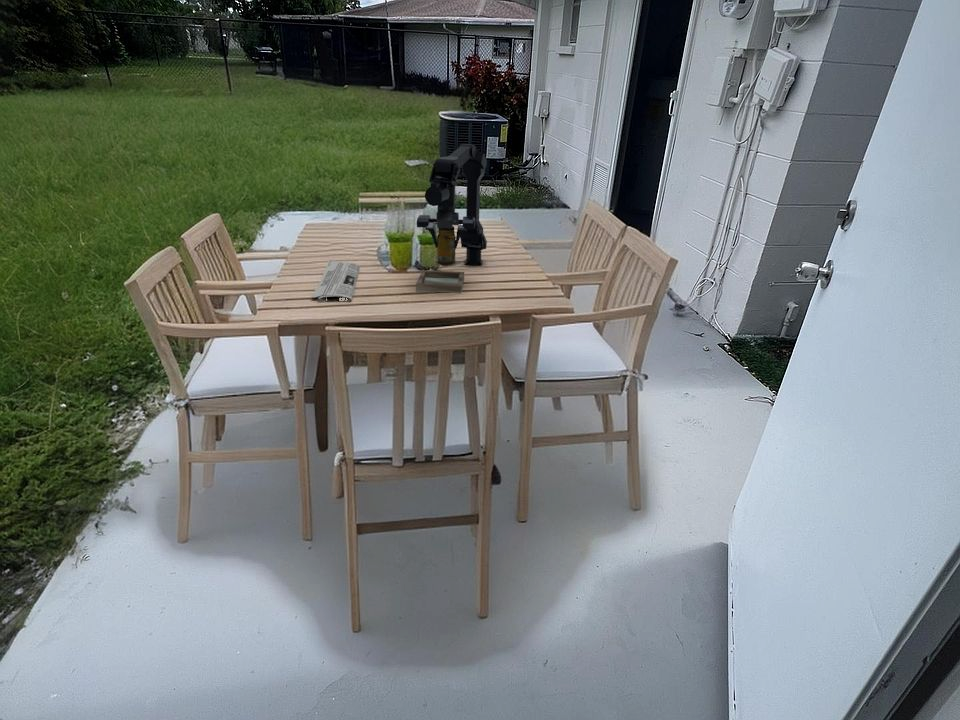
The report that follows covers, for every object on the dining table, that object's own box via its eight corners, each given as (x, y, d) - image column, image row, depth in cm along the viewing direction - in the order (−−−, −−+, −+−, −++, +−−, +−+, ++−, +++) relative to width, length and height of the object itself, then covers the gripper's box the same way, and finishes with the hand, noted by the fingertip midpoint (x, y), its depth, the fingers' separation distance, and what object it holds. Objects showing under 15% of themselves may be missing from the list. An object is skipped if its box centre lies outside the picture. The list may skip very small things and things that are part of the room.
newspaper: (351, 303, 179) (351, 292, 177) (311, 304, 177) (310, 293, 176) (360, 268, 210) (359, 259, 208) (325, 268, 208) (324, 259, 207)
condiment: (450, 258, 196) (451, 223, 190) (462, 264, 189) (463, 228, 184) (431, 260, 192) (431, 225, 187) (443, 267, 186) (443, 231, 180)
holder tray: (421, 277, 201) (421, 270, 200) (464, 278, 201) (464, 271, 200) (416, 291, 188) (416, 284, 187) (461, 293, 188) (461, 286, 186)
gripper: (414, 204, 174) (415, 253, 181) (474, 206, 174) (473, 255, 181) (418, 197, 184) (419, 244, 191) (475, 199, 184) (474, 246, 191)
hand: (446, 247), depth 188 cm, fingers closed on condiment, 6 cm apart
